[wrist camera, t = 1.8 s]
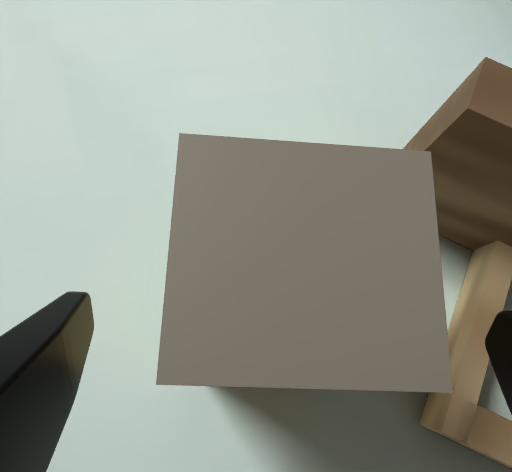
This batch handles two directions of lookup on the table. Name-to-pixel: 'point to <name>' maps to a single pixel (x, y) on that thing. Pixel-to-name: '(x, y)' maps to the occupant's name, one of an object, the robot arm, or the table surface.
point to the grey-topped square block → (303, 268)
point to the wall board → (473, 245)
